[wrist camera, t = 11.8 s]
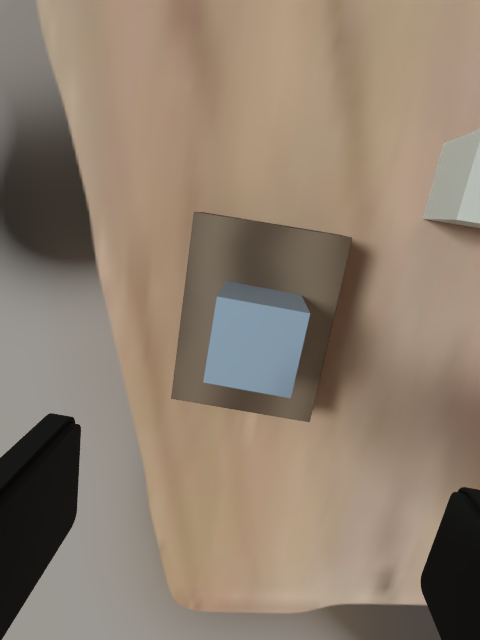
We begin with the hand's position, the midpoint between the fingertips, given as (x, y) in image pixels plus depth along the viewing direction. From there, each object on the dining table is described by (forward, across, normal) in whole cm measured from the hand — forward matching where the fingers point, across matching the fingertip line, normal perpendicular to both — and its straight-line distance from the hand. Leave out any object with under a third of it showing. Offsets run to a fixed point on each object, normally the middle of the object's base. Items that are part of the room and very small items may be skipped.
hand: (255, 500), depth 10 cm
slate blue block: (+17, 0, 0) cm, 17 cm away
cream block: (+21, -12, -11) cm, 27 cm away
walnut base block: (+21, 0, 0) cm, 21 cm away
